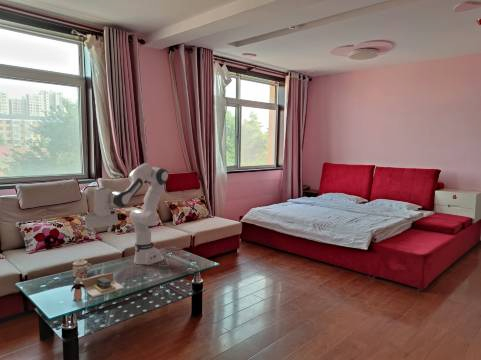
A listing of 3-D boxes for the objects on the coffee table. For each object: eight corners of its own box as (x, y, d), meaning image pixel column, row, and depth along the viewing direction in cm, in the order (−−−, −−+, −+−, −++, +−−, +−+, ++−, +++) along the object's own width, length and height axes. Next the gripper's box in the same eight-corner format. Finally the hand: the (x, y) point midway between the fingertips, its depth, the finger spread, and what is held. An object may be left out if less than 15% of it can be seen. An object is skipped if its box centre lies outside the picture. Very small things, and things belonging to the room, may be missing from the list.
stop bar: (110, 288, 205) (110, 280, 205) (104, 290, 202) (104, 282, 202) (103, 285, 210) (103, 277, 210) (97, 287, 207) (97, 279, 206)
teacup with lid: (75, 279, 220) (75, 262, 219) (70, 275, 226) (70, 258, 225) (94, 275, 228) (94, 258, 227) (89, 271, 235) (89, 255, 234)
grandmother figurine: (71, 302, 188) (71, 280, 187) (70, 300, 191) (69, 277, 190) (86, 299, 193) (86, 277, 191) (85, 296, 196) (84, 275, 195)
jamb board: (103, 275, 229) (103, 266, 228) (124, 288, 208) (124, 279, 207) (73, 282, 215) (73, 273, 215) (92, 297, 195) (92, 287, 194)
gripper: (87, 214, 213) (87, 236, 214) (118, 211, 227) (119, 231, 229) (83, 213, 217) (83, 234, 219) (114, 209, 232) (114, 229, 233)
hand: (102, 233), depth 224 cm, fingers open, 8 cm apart
